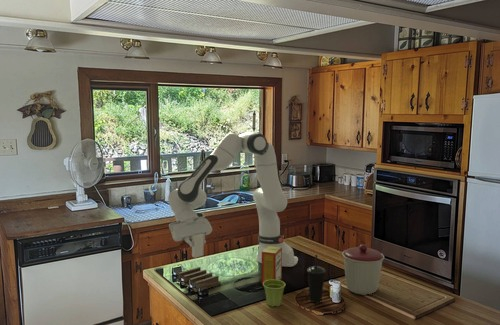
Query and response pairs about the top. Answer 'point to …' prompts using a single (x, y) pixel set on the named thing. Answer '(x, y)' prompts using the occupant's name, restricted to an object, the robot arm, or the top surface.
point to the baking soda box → (272, 263)
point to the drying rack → (198, 278)
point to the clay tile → (197, 245)
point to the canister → (362, 269)
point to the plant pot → (274, 292)
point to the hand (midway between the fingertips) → (198, 244)
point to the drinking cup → (315, 282)
